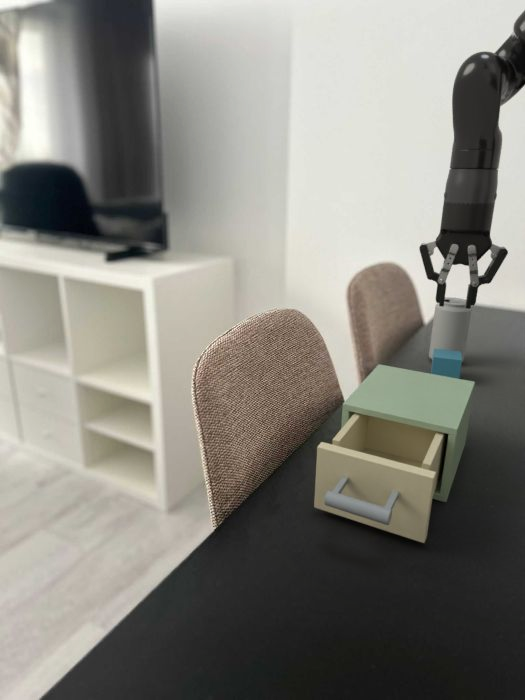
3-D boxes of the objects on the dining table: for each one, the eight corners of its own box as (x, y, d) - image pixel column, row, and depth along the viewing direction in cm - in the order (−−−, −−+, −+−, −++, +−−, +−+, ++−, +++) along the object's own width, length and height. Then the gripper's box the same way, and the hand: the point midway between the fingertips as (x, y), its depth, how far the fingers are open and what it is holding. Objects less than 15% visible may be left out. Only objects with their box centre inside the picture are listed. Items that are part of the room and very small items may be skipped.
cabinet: (446, 502, 56) (457, 429, 53) (337, 471, 62) (342, 403, 59) (465, 444, 69) (475, 381, 66) (373, 422, 74) (378, 364, 71)
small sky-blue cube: (457, 375, 92) (461, 351, 90) (458, 385, 87) (462, 360, 86) (430, 372, 93) (433, 348, 91) (430, 381, 89) (433, 356, 87)
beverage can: (432, 353, 103) (440, 294, 99) (466, 359, 100) (475, 299, 96) (424, 362, 98) (432, 301, 94) (459, 369, 94) (469, 306, 90)
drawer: (413, 574, 45) (423, 504, 43) (295, 532, 50) (298, 468, 48) (448, 474, 60) (457, 418, 58) (355, 449, 65) (359, 397, 63)
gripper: (515, 199, 81) (497, 305, 87) (422, 197, 86) (411, 298, 91) (522, 202, 75) (502, 316, 80) (421, 199, 79) (409, 308, 85)
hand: (454, 306), depth 86 cm, fingers open, 3 cm apart
